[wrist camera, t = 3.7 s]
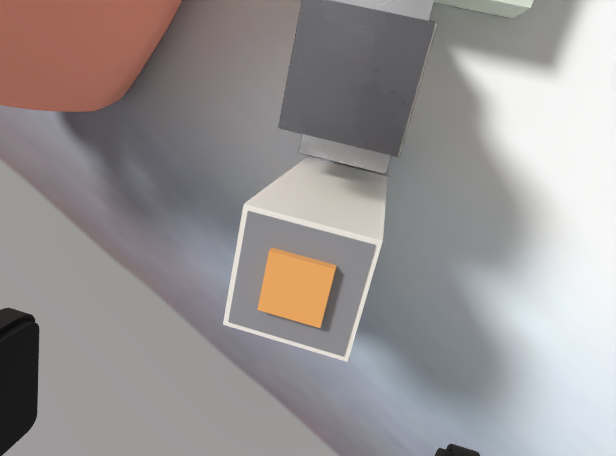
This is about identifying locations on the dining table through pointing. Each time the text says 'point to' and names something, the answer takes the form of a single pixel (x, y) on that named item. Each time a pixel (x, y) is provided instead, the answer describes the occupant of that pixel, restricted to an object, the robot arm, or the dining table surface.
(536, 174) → the dining table surface
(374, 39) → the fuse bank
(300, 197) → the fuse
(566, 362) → the dining table surface
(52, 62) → the teapot
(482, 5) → the tray
